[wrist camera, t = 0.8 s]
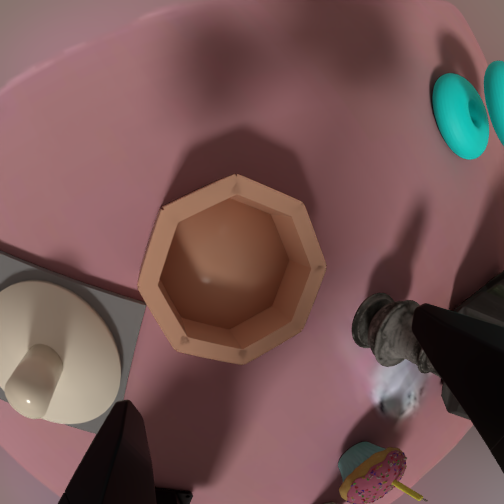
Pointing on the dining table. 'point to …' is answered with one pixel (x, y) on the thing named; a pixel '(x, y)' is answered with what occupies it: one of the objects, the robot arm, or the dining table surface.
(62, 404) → the lid
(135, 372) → the dining table surface
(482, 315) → the bottle
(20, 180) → the dining table surface
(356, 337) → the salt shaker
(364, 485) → the cupcake
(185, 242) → the bowl
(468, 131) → the donuts
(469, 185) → the dining table surface
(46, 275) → the mat
